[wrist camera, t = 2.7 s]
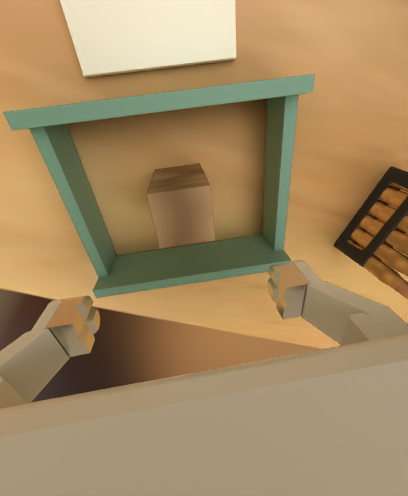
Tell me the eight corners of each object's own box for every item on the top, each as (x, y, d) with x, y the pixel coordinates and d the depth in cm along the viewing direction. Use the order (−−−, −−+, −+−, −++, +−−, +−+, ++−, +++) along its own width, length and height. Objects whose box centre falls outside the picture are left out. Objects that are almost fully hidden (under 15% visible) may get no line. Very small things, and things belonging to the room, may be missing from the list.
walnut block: (199, 163, 22) (209, 185, 16) (204, 205, 25) (215, 240, 18) (155, 169, 22) (146, 194, 15) (164, 211, 25) (159, 248, 18)
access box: (278, 83, 20) (314, 73, 15) (269, 239, 28) (290, 268, 23) (49, 112, 19) (3, 112, 14) (111, 263, 27) (96, 298, 22)
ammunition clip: (343, 248, 30) (429, 318, 20) (333, 245, 30) (415, 314, 20) (402, 171, 25) (555, 211, 15) (390, 166, 25) (540, 203, 15)
